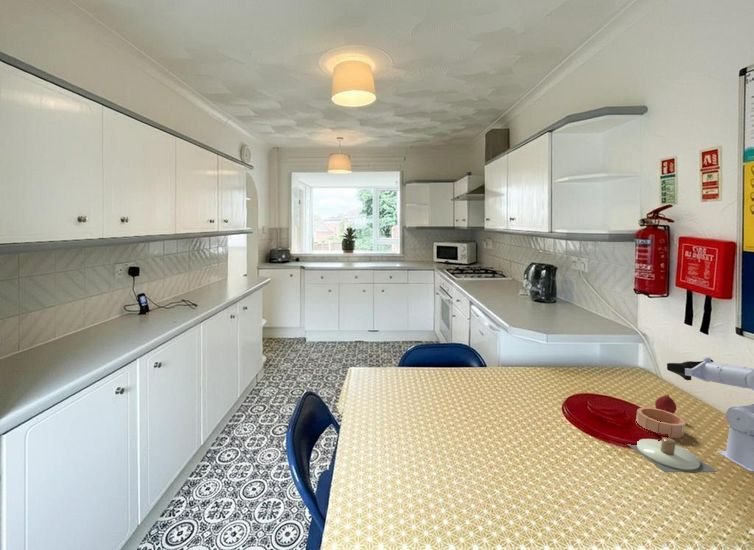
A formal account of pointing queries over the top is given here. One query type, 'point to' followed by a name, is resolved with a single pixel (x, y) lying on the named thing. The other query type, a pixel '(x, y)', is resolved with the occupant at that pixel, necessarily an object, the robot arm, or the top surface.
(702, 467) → the mat
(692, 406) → the top surface
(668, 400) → the onion
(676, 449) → the lid
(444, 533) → the top surface
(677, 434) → the bowl
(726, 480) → the top surface
